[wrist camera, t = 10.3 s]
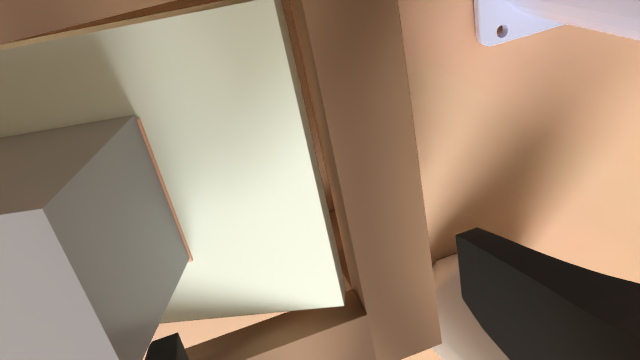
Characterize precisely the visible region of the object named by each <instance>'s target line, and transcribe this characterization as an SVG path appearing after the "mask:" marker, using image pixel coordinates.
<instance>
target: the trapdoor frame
mask: <svg viewBox="0 0 640 360" xmlns="http://www.w3.org/2000/svg"><path fill="white" fill-rule="evenodd" d="M171 1H175V0H0V44H4V43H8V42H12V41H16V40H20V39H24V38H28V37H32V36H36V35H40V34H44V33H48V32H52V31H56V30H60V29H64V28H68V27H72V26H76V25H80V24H84V23H88V22H92V21H96V20H100V19H104V18H108V17H112V16H116V15H120V14H124V13H128V12H132V11H136V10H140V9H144V8H148V7H152V6H156V5H160V4H164V3H167V2H171ZM289 2H290V6H291V11H292V15H293V20H294V25H295V29H296V34H297V38H298V43H299V48H300V52H301V57H302V61H303V66H304V70H305V75H306V80H307V84H308V89H309V93H310V98H311V103H312V107H313V112H314V116H315V121H316V126H317V130H318V135H319V139H320V144H321V148H322V153H323V158H324V162H325V167H326V171H327V176H328V181H329V185H330V190H331V194H332V199H333V204H334V208H335V210H334V211H331V212H329V215H330V219H331V224H332V228H333V233H334V237H335V242H336V246H337V251H338V255H339V259H340V264H341V268H342V273H343V277H344V282H345V301H344V306H338V307H327V308H317V309H306V310H296V311H289V312H287V313H284V314H281V315H278V316H275V317H273V318H270V319H267V320H264V321H261V322H259V323H256V324H253V325H250V326H247V327H245V328H242V329H239V330H236V331H233V332H231V333H228V334H225V335H222V336H219V337H217V338H214V339H211V340H208V341H205V342H203V343H200V344H197V345H194V346H192V347H189V348H186V349H185V351H186V354H187V356H188V358H189V360H401V359H404V358H406V357H409V356H411V355H414V354H416V353H419V352H422V351H424V350H427V349H429V348H432V347H435V346H437V345H440V344H442V338H441V330H440V323H439V315H438V307H437V300H436V292H435V284H434V277H433V269H432V261H431V253H430V246H429V238H428V230H427V223H426V215H425V207H424V200H423V192H422V184H421V177H420V169H419V161H418V153H417V146H416V138H415V130H414V123H413V115H412V107H411V100H410V92H409V84H408V76H407V69H406V61H405V53H404V46H403V38H402V30H401V23H400V15H399V7H398V0H289Z"/></svg>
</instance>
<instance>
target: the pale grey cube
mask: <svg viewBox="0 0 640 360" xmlns="http://www.w3.org/2000/svg"><path fill="white" fill-rule="evenodd" d="M189 259H190V258H189V255H188V253H187V250H186V248H185V245H184V242H183V240H182V237H181V235H180V232H179V229H178V227H177V224H176V222H175V219H174V216H173V214H172V211H171V208H170V206H169V203H168V201H167V198H166V195H165V193H164V190H163V188H162V185H161V182H160V180H159V177H158V175H157V172H156V169H155V167H154V164H153V162H152V159H151V156H150V154H149V151H148V148H147V146H146V143H145V141H144V138H143V135H142V133H141V130H140V128H139V125H138V122H137V120H136V117H135V115H130V116H124V117H118V118H113V119H107V120H101V121H95V122H89V123H84V124H78V125H72V126H66V127H60V128H55V129H49V130H43V131H37V132H31V133H25V134H20V135H14V136H8V137H2V138H0V360H142V359H143V357H144V355H145V353H146V351H147V348H148V346H149V344H150V342H151V340H152V338H153V336H154V333H155V331H156V329H157V327H158V325H159V323H160V321H161V319H162V316H163V314H164V312H165V310H166V308H167V306H168V304H169V302H170V299H171V297H172V295H173V293H174V291H175V289H176V287H177V284H178V282H179V280H180V278H181V276H182V274H183V272H184V270H185V267H186V265H187V263H188V261H189Z"/></svg>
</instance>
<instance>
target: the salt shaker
mask: <svg viewBox="0 0 640 360" xmlns="http://www.w3.org/2000/svg"><path fill="white" fill-rule="evenodd" d="M432 269H433V277H434V284H435V292H436V300H437V307H438V315H439V323H440V330H441V338H442V344H440V345H437V346H435V347H432V349H433V350H434V351H435V352H436V353H437V355H438V356H439V357H440V358H441V359H442V360H509V358H508V357H507V356H506V355H505V354H504V353H503V352H502V351H501V349H500V348H499V347H498V346H497V345H496V344H495V343H494V341H493V340H492V339H491V338H490V337H489V336H488V334H487V333H486V332H485V331H484V330H483V328H482V327H481V326H480V324H479V323H478V321H477V320H476V318H475V317H474V315H473V314H472V312H471V311H470V309H469V308H468V306H467V305H466V303H465V302H464V300H463V299H462V294H461V284H460V274H459V264H458V254H454V255H451V256H448V257H445V258H442V259H439V260H437V261H436V262H435V264H434V265H433V267H432Z"/></svg>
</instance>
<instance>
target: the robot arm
mask: <svg viewBox="0 0 640 360" xmlns="http://www.w3.org/2000/svg"><path fill="white" fill-rule="evenodd" d="M474 11H475V26H476V37H477V41H478V42H479V43H480V44H482V45H484V46H487V47H488V46H494V45H497V44H501V43H504V42H508V41H511V40H515V39H518V38H521V37H525V36H528V35H532V34H535V33H538V32H542V31H545V30H549V29H552V28H556V27H559V26H562V25H566V24H568V25H573V26H577V27H581V28H586V29H590V30H595V31H599V32H603V33H608V34H612V35H617V36H621V37H625V38H630V39H634V40H639V41H640V0H474ZM501 25H502V28H503V29H502V32H501V34H500V35H498V36H497V29H498V28H499V26H501ZM456 244H457V254H458V264H459V274H460V284H461V294H462V299H463V300H464V302H465V303H466V305H467V306H468V308H469V309H470V311H471V312H472V314H473V315H474V317H475V318H476V320H477V321H478V323H479V324H480V326H481V327H482V328H483V330H484V331H485V332H486V333H487V334H488V336H489V337H490V338H491V339H492V340H493V341H494V343H495V344H496V345H497V346H498V347H499V348H500V349H501V351H502V352H503V353H504V354H505V355H506V356H507V357H508V358H509V360H640V284H639V283H635V282H631V281H627V280H623V279H620V278H616V277H612V276H608V275H605V274H601V273H598V272H594V271H591V270H588V269H585V268H582V267H579V266H576V265H573V264H570V263H567V262H564V261H562V260H559V259H556V258H553V257H551V256H548V255H545V254H543V253H540V252H538V251H535V250H532V249H530V248H527V247H525V246H522V245H520V244H518V243H515V242H513V241H510V240H508V239H505V238H503V237H500V236H498V235H495V234H493V233H490V232H488V231H485V230H482V229H480V228H475V229H472V230H469V231H466V232H463V233H460V234H457V235H456ZM145 360H189V358H188V356H187V354H186V351H185V349H184V346H183V344H182V342H181V339H180V337H179V334H178V333H175V334H172V335H169V336H167V337H164V338H161V339H158V340H155V341H152V342H151V344H150V346H149V348H148V351H147V354H146V358H145Z"/></svg>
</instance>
